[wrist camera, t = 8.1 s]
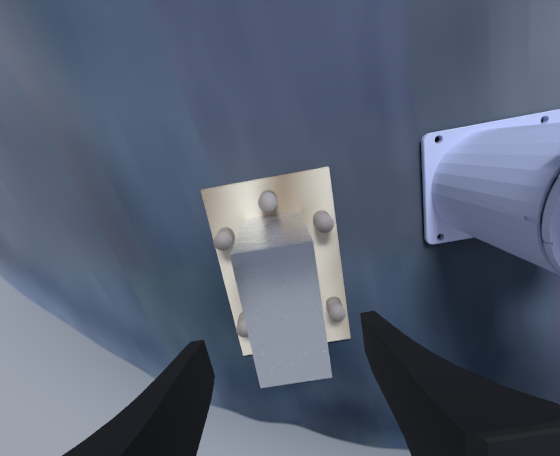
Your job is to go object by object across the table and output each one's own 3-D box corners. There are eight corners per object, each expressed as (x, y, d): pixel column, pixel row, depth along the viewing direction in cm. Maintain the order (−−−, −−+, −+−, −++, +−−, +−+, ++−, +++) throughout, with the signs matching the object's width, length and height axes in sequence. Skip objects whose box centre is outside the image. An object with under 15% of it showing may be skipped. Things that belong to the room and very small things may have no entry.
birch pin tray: (327, 166, 20) (333, 168, 17) (348, 333, 23) (356, 352, 21) (202, 189, 20) (194, 194, 18) (244, 350, 24) (241, 370, 22)
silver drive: (300, 209, 20) (314, 240, 13) (315, 307, 22) (333, 377, 15) (244, 218, 20) (228, 254, 13) (264, 315, 22) (259, 388, 15)
